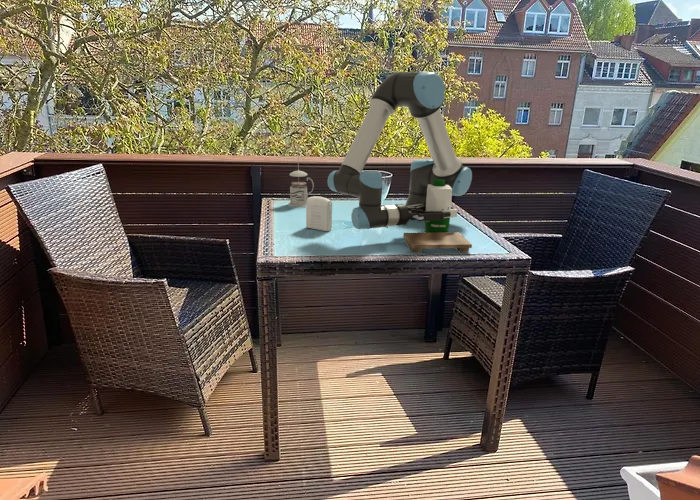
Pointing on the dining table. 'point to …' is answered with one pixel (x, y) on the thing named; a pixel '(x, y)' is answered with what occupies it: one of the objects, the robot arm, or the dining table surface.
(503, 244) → the dining table surface
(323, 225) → the photo printer
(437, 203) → the soya milk
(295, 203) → the french press
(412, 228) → the dining table surface
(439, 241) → the stand
